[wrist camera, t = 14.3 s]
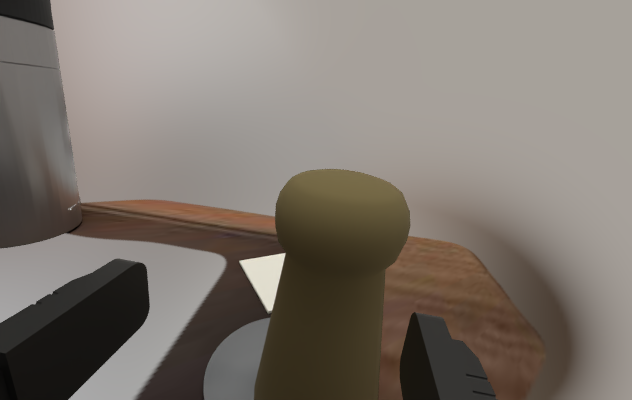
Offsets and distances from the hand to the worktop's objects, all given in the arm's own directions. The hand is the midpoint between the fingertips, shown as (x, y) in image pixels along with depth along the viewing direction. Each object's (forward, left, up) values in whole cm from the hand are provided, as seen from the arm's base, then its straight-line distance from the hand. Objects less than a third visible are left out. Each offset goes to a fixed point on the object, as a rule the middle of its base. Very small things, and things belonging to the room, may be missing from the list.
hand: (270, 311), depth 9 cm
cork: (+4, +2, -8) cm, 9 cm away
